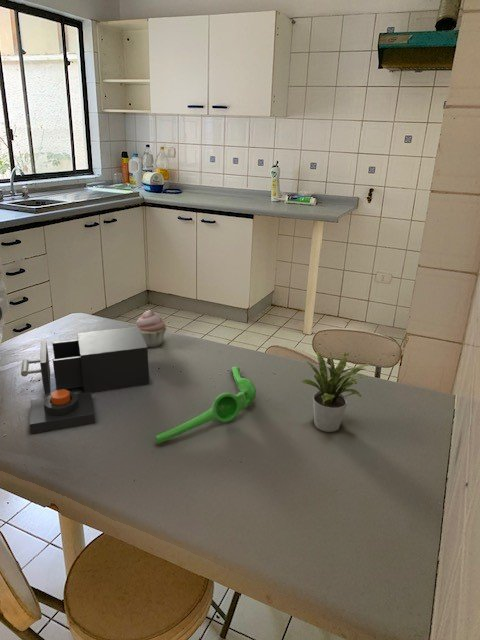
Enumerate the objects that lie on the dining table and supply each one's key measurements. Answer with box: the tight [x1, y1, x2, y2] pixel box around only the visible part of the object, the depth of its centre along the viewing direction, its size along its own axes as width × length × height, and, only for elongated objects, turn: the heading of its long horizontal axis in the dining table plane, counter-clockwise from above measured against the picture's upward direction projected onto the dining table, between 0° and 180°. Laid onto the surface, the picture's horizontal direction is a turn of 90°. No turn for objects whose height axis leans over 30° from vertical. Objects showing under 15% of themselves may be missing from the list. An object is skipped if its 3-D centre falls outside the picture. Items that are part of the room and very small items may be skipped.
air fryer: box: [76, 326, 150, 394], centre depth 110 cm, size 15×13×10 cm
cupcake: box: [133, 309, 168, 348], centre depth 128 cm, size 9×9×10 cm
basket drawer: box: [20, 338, 83, 396], centre depth 106 cm, size 18×11×8 cm, turn 111°
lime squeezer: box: [154, 366, 257, 444], centre depth 99 cm, size 34×12×6 cm, turn 154°
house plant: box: [300, 349, 372, 433], centre depth 92 cm, size 14×14×16 cm
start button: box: [50, 389, 71, 405], centre depth 94 cm, size 4×4×2 cm
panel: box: [28, 391, 96, 435], centre depth 95 cm, size 12×9×4 cm
